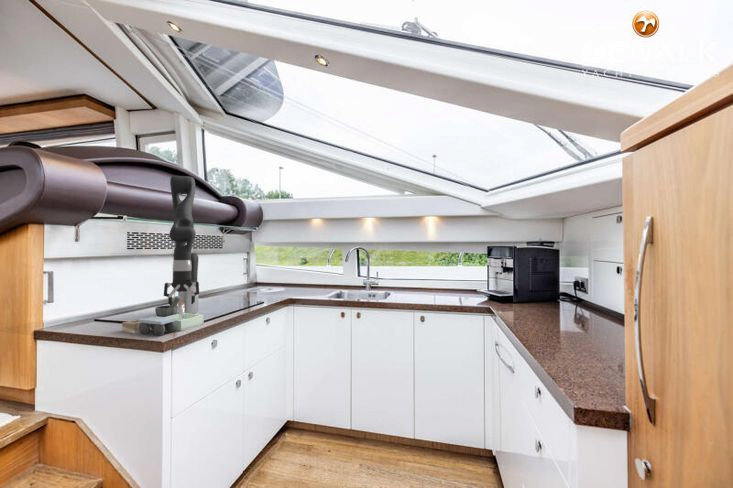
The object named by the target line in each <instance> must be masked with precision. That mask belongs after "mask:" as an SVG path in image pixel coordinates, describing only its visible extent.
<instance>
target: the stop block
mask: <svg viewBox="0 0 733 488" xmlns="http://www.w3.org/2000/svg"><path fill="white" fill-rule="evenodd" d="M140 319H141V318H140ZM140 319H137V318H136V319H132V320H128V321H122V323H121V325H122V326H121V333H131V334H137V333H141V332H140V331H139V325H140V324H141V323H140V322H139V320H140ZM149 325H150V323H149Z"/></svg>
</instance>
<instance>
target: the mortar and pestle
mask: <svg viewBox="0 0 733 488" xmlns="http://www.w3.org/2000/svg"><path fill="white" fill-rule="evenodd" d="M180 300H181V298H180V297H178V296H177V295H176V296H175V297H174V299H173V300H172V306H170V304H168V305H167V304H166V305H159V306H156V307H155V308H154V309H155V311H154V312H155V316H157V317H167V316H171V315H176V314H178V302H179V301H180Z"/></svg>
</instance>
